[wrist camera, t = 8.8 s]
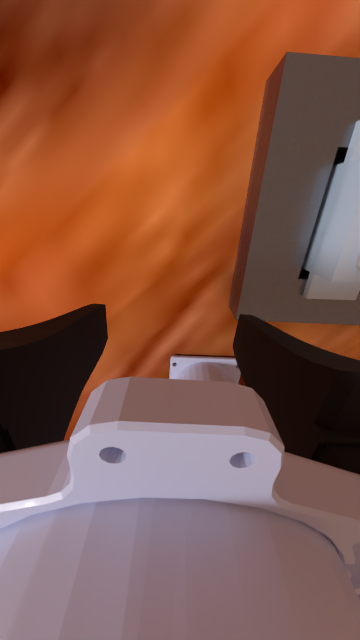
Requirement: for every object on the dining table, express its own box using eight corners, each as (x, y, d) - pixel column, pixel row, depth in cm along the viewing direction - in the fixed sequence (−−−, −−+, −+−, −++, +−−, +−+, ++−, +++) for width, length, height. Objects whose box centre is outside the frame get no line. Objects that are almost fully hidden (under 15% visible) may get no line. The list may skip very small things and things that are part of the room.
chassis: (366, 312, 22) (392, 326, 19) (228, 305, 22) (236, 319, 19) (469, 98, 15) (533, 73, 12) (266, 81, 14) (287, 51, 12)
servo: (331, 133, 15) (415, 93, 10) (387, 136, 15) (500, 98, 10) (289, 286, 20) (329, 314, 15) (332, 288, 20) (387, 316, 15)
